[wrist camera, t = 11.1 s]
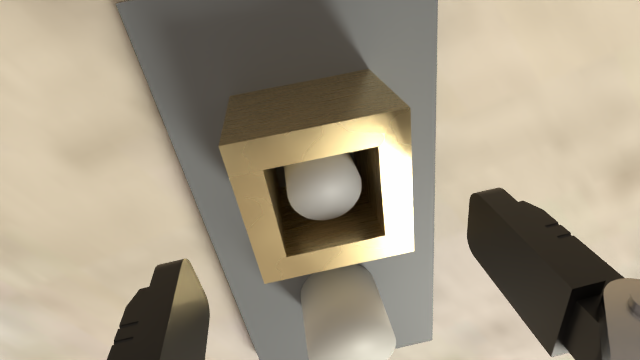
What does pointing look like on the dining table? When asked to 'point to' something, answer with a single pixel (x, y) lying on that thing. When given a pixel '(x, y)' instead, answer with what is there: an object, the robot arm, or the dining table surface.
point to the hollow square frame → (313, 143)
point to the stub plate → (278, 58)
